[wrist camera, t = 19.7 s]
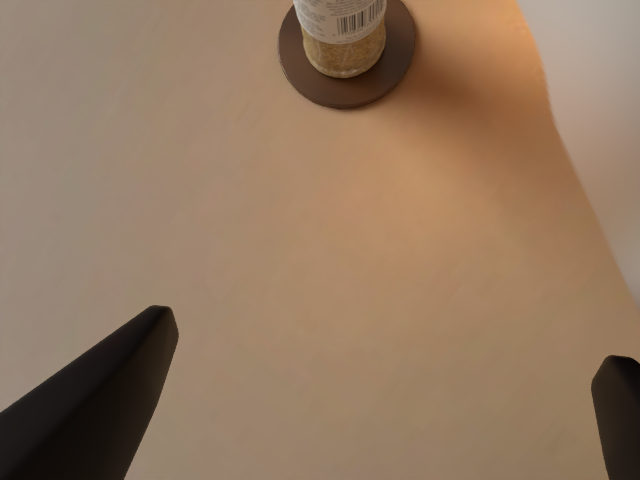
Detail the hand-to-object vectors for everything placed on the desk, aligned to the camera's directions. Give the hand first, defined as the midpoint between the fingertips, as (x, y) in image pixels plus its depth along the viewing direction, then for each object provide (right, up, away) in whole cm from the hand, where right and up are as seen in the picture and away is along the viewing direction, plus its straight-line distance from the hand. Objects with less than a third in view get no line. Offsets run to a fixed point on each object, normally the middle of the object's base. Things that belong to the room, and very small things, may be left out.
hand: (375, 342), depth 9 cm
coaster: (0, +13, +16) cm, 21 cm away
